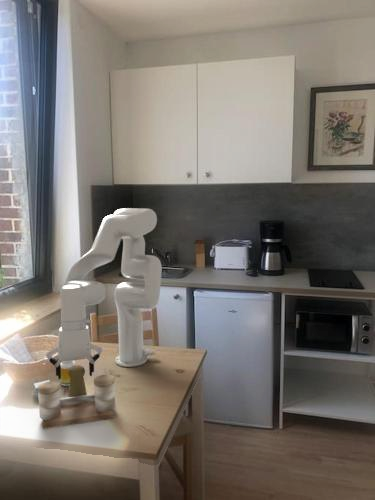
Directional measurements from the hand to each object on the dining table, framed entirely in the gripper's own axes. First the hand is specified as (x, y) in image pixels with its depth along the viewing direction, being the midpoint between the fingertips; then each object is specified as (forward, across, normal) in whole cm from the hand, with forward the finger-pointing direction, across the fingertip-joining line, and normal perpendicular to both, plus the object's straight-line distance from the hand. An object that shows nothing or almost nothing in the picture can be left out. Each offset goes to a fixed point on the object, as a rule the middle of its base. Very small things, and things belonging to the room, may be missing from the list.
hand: (75, 375), depth 137 cm
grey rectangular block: (+8, +10, -7) cm, 15 cm away
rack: (+8, -1, +9) cm, 13 cm away
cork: (+8, -1, -1) cm, 8 cm away
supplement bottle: (+8, +2, -14) cm, 16 cm away
